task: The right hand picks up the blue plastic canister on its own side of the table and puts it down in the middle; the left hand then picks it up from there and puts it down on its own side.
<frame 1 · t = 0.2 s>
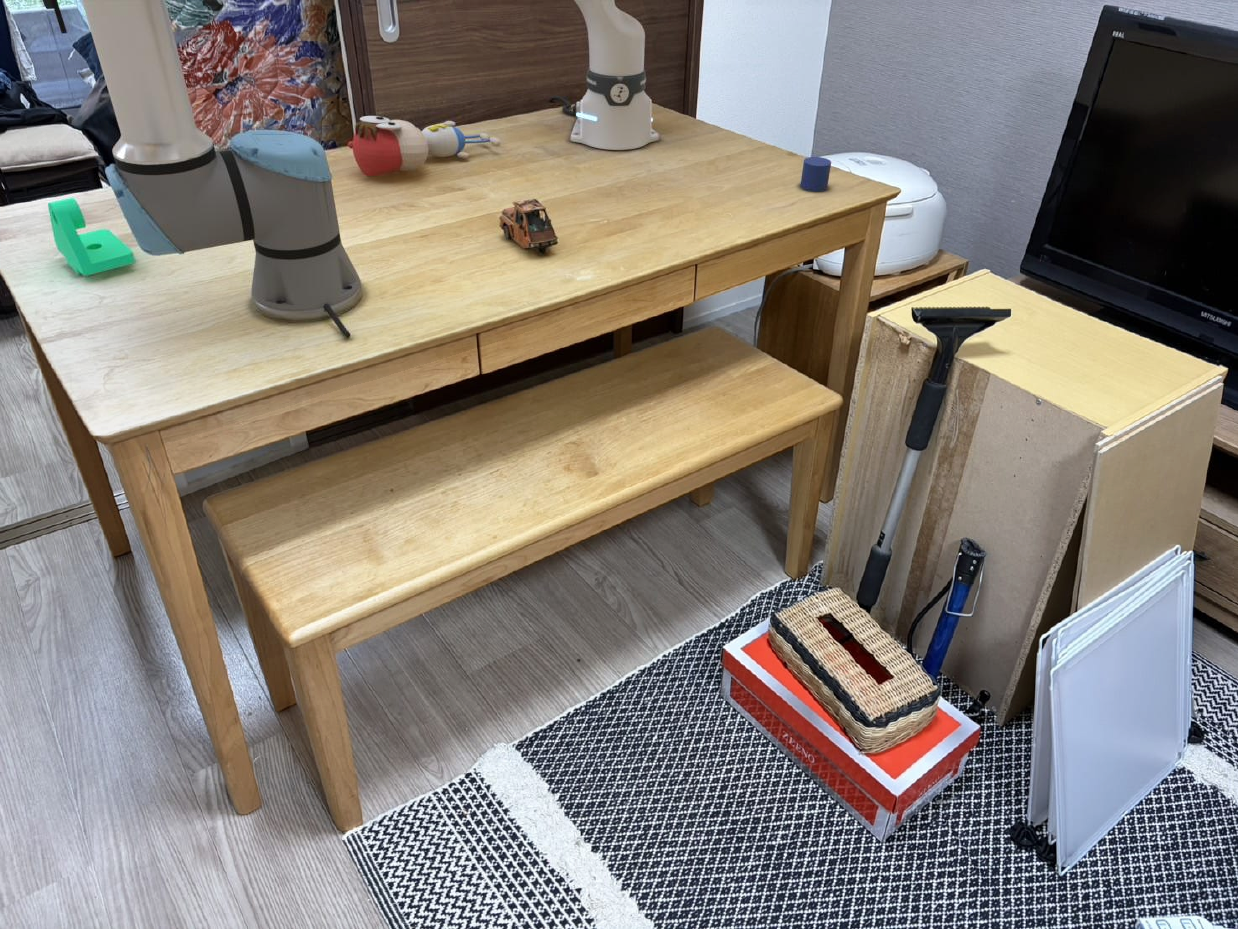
left hand: (112, 28, 146), 28 cm above the table, tool pointing down, fingers open, 13 cm apart
toy: (427, 162, 182), on the table
canister: (813, 186, 177), on the table
camera mount: (100, 263, 142), on the table
toy car: (529, 243, 152), on the table
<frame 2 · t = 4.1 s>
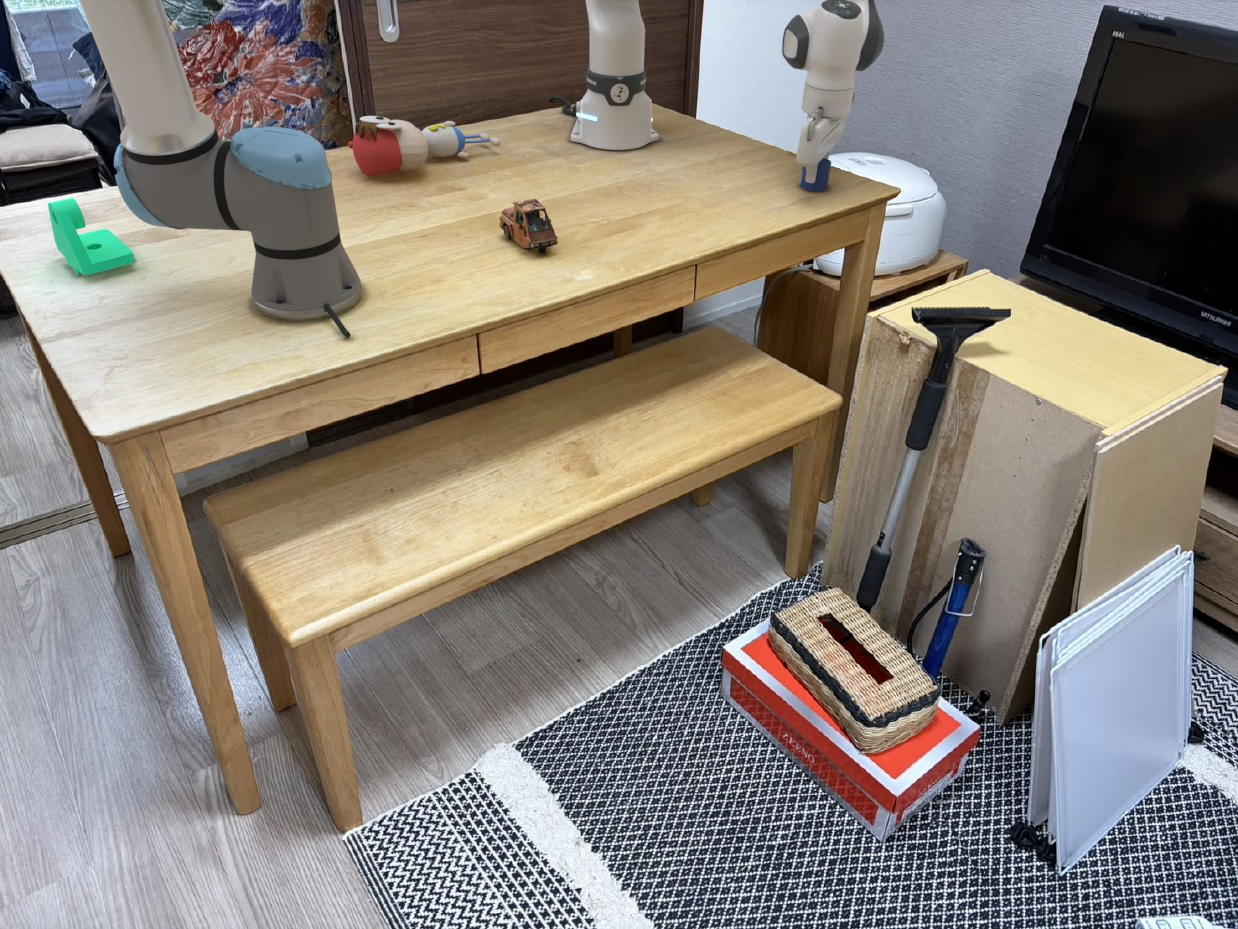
right hand: (815, 176, 176), 2 cm above the table, tool pointing down, fingers closed on canister, 5 cm apart
canister: (813, 186, 177), on the table, touching right hand
everything else where it was.
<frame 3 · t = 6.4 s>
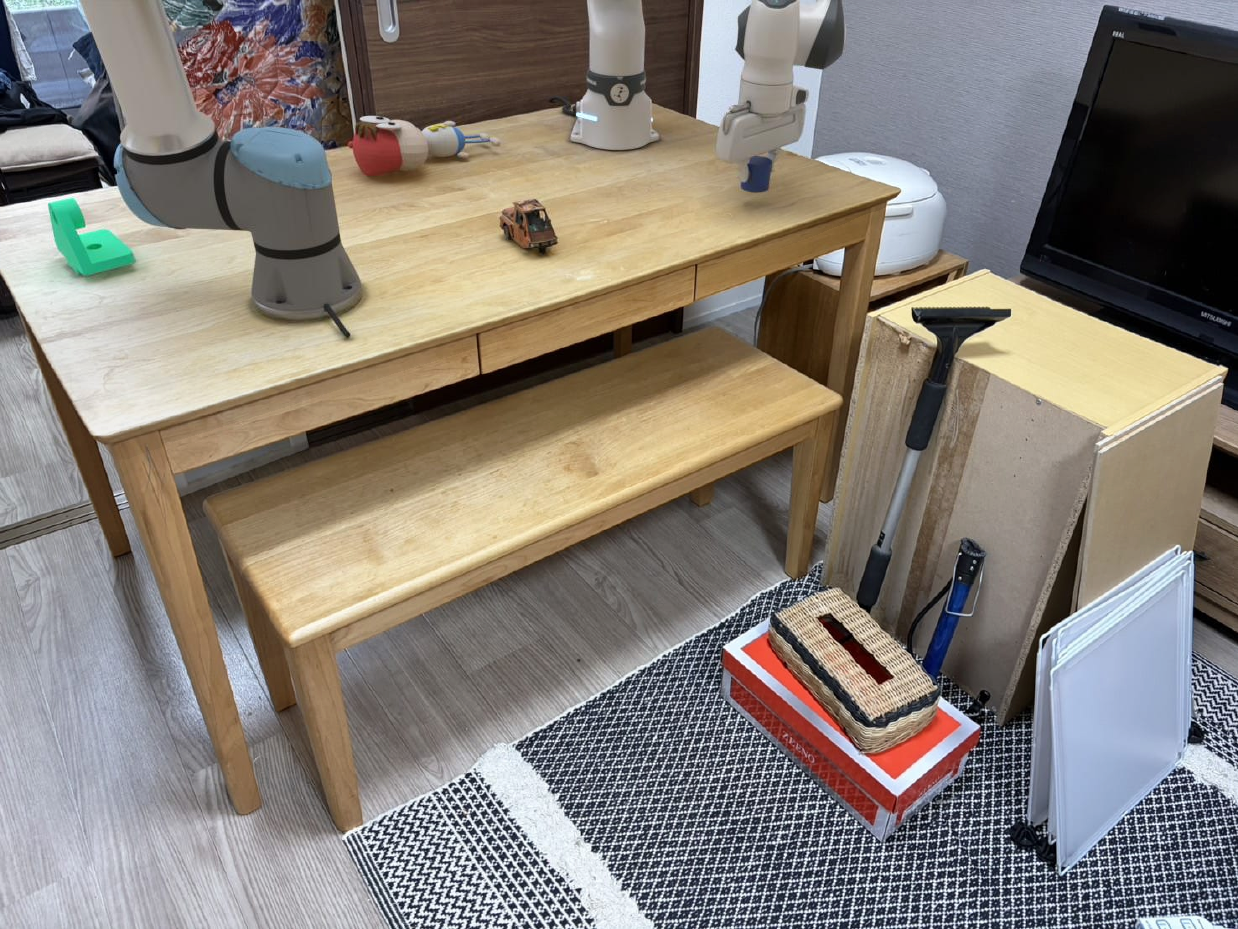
right hand: (755, 176, 166), 5 cm above the table, tool pointing down, fingers closed on canister, 5 cm apart
canister: (754, 187, 167), point 3 cm above the table, touching right hand
everything else where it was.
when the right hand's fingers open (3 cm above the table, at t = 9.0 s): canister drops 1 cm, on the table.
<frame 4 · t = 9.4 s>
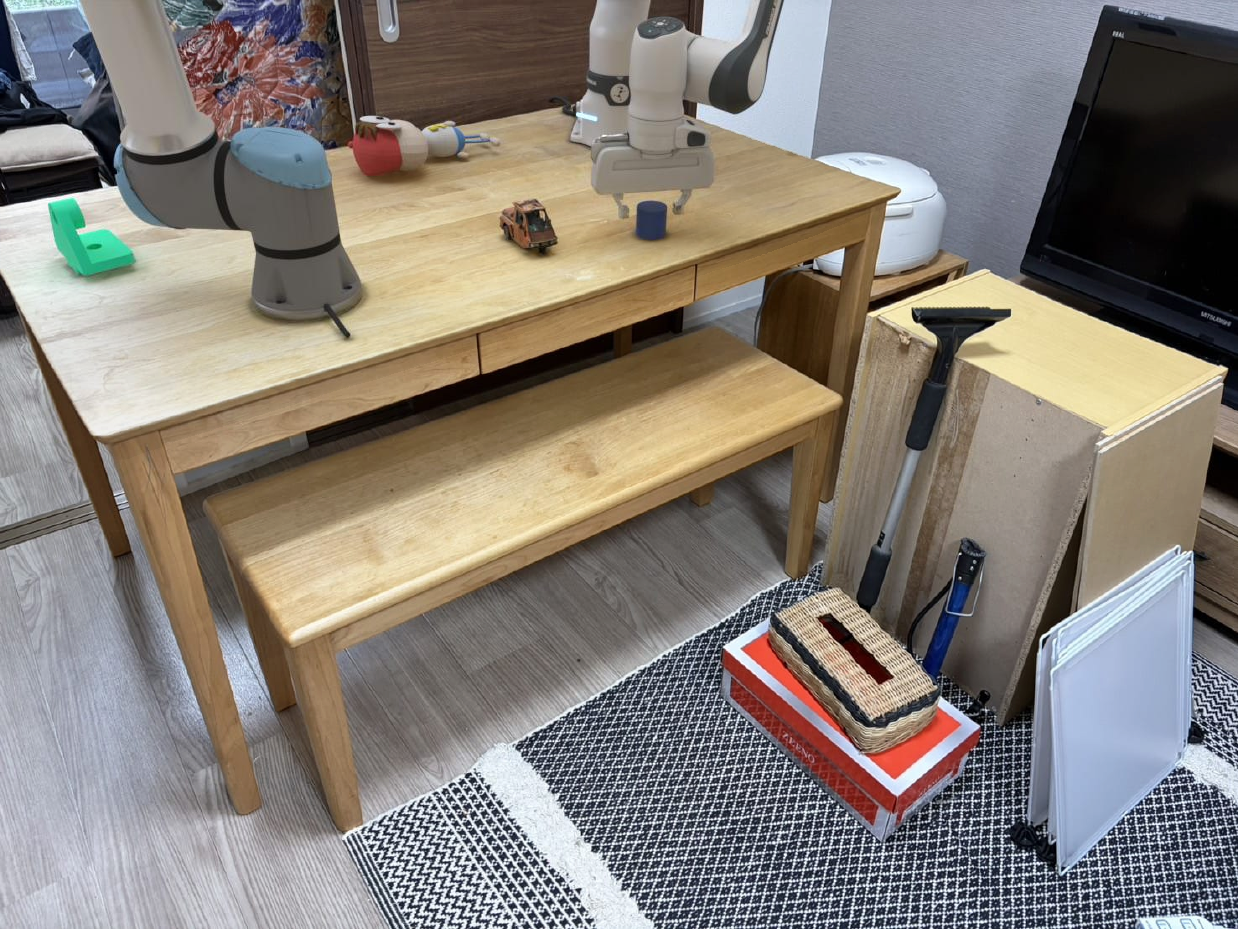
right hand: (650, 215, 155), 3 cm above the table, tool pointing down, fingers open, 8 cm apart
canister: (650, 234, 157), on the table
everything else where it was.
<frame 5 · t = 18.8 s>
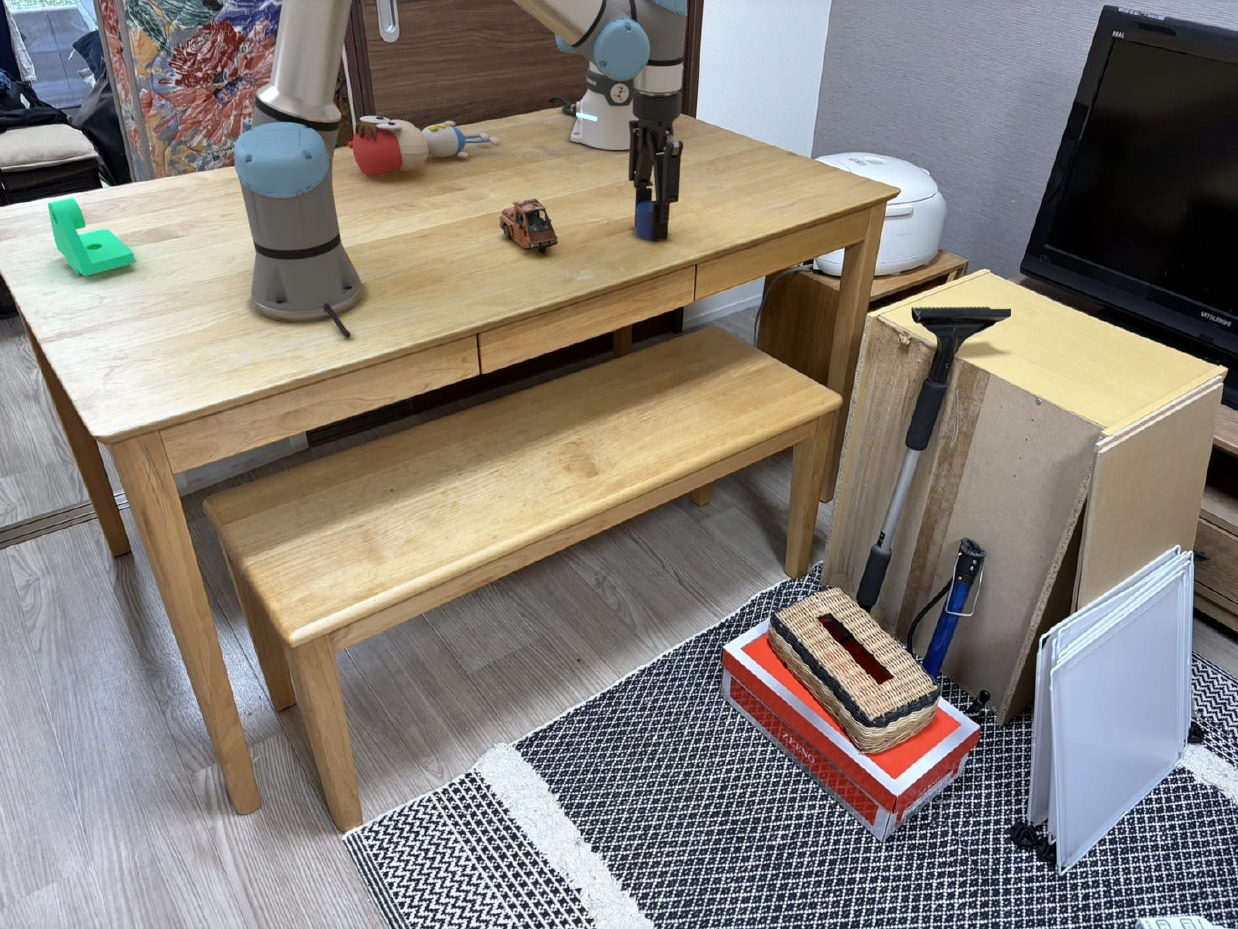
left hand: (650, 232, 157), 0 cm above the table, tool pointing down, fingers closed on canister, 5 cm apart
canister: (650, 234, 157), on the table, touching left hand
everything else where it was.
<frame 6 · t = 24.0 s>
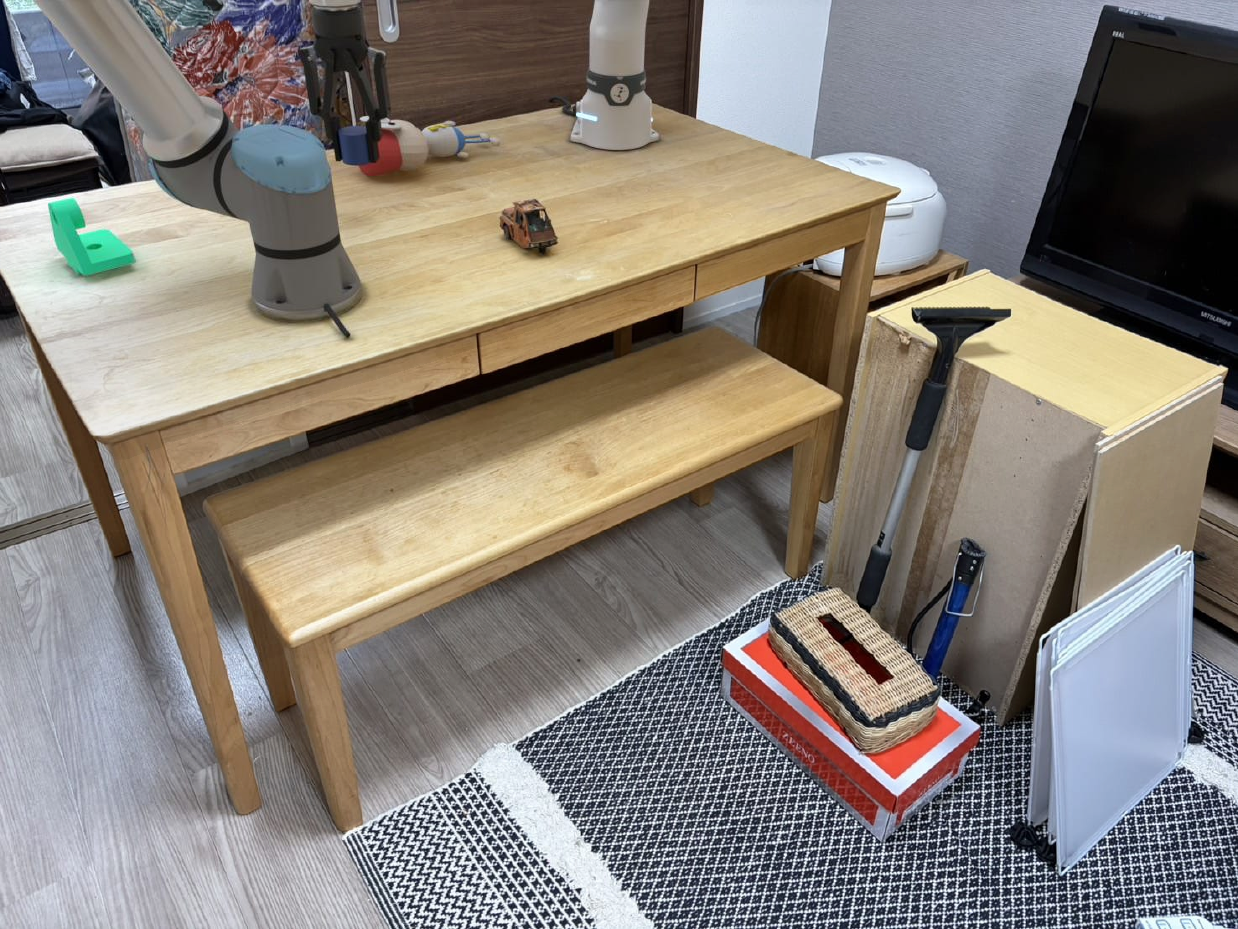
left hand: (357, 159, 153), 10 cm above the table, tool pointing down, fingers closed on canister, 5 cm apart
canister: (358, 160, 153), point 10 cm above the table, touching left hand
everything else where it was.
when the left hand's fingers open (1 cm above the table, at t = 29.4 s): canister stays where it is, on the table.
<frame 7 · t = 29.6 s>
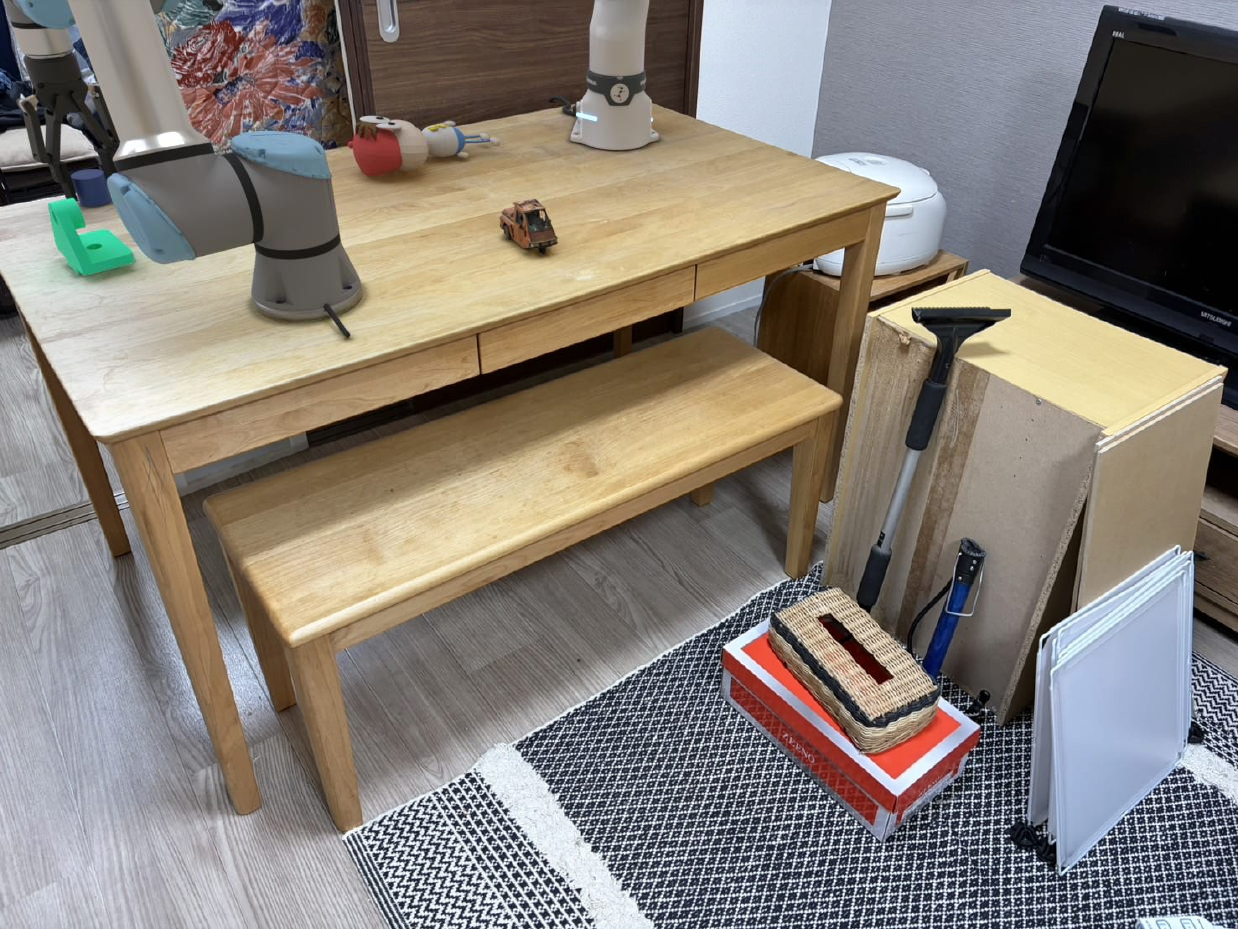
left hand: (93, 193, 161), 2 cm above the table, tool pointing down, fingers open, 7 cm apart
canister: (96, 201, 162), on the table
everything else where it was.
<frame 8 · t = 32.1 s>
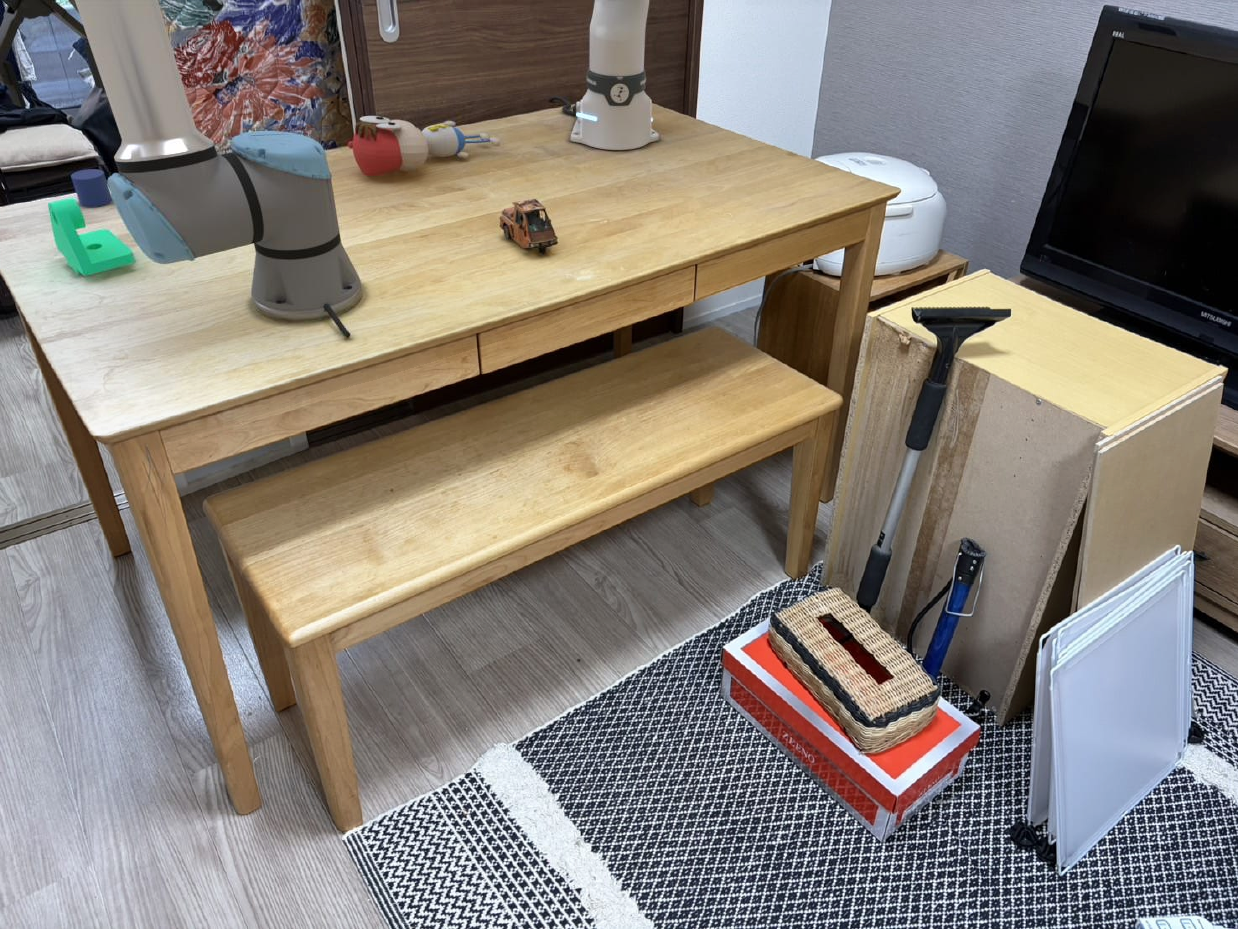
left hand: (62, 96, 151), 18 cm above the table, tool pointing down, fingers open, 13 cm apart
nothing on the table moved.
at the end: canister inside the target area (0.1 cm from its centre), on the table; canister tilted 0°; the two hands never held the canister at the same time; the left hand is holding nothing; the right hand is holding nothing; canister at rest at the end (0.0 cm/s) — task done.
